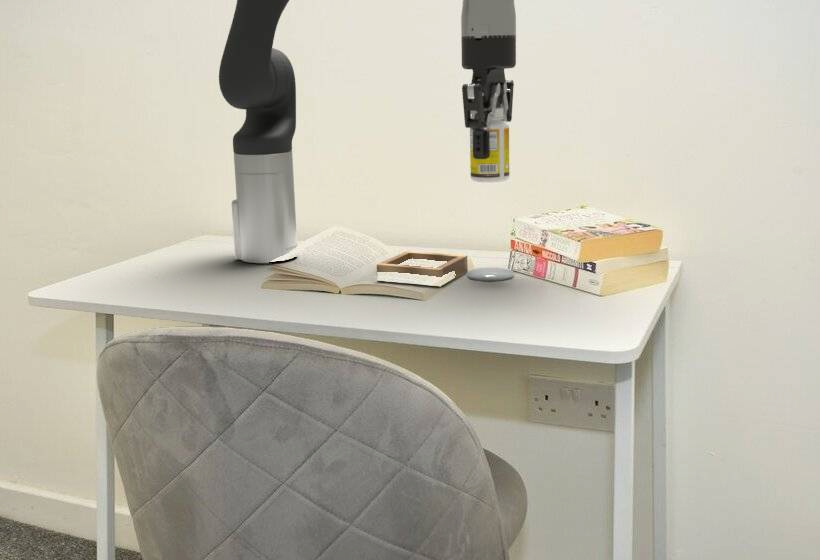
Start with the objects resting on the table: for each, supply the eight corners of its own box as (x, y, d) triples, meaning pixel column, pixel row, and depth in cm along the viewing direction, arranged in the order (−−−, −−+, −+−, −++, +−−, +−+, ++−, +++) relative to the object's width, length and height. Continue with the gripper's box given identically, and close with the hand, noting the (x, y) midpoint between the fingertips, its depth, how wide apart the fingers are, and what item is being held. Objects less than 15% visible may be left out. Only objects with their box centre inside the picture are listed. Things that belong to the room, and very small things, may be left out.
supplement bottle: (495, 176, 140) (495, 106, 138) (516, 180, 135) (517, 107, 133) (463, 180, 138) (462, 108, 135) (483, 184, 133) (482, 109, 131)
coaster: (458, 278, 138) (458, 276, 138) (476, 268, 144) (476, 266, 144) (504, 282, 135) (504, 280, 135) (520, 272, 141) (520, 269, 141)
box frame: (377, 281, 138) (376, 264, 137) (407, 266, 147) (406, 251, 146) (440, 287, 134) (440, 269, 133) (467, 272, 142) (467, 255, 142)
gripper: (482, 34, 140) (483, 150, 144) (442, 34, 127) (444, 161, 131) (531, 33, 136) (531, 151, 140) (495, 32, 124) (495, 162, 128)
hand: (489, 155), depth 136 cm, fingers closed on supplement bottle, 5 cm apart
